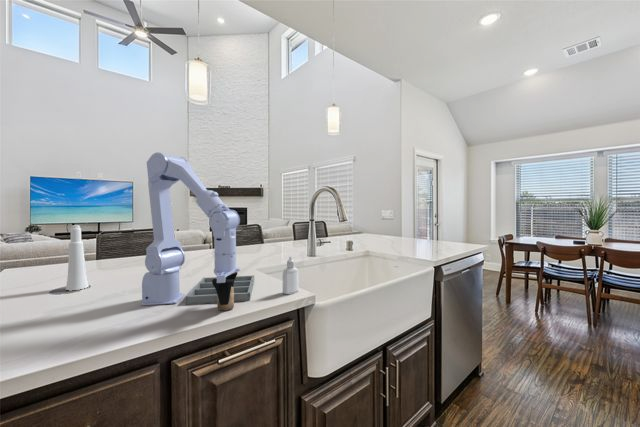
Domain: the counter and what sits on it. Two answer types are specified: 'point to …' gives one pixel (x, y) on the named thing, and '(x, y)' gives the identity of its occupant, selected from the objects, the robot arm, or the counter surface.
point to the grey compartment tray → (208, 293)
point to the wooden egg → (230, 304)
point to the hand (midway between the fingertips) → (225, 301)
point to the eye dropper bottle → (290, 278)
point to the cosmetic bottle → (76, 262)
